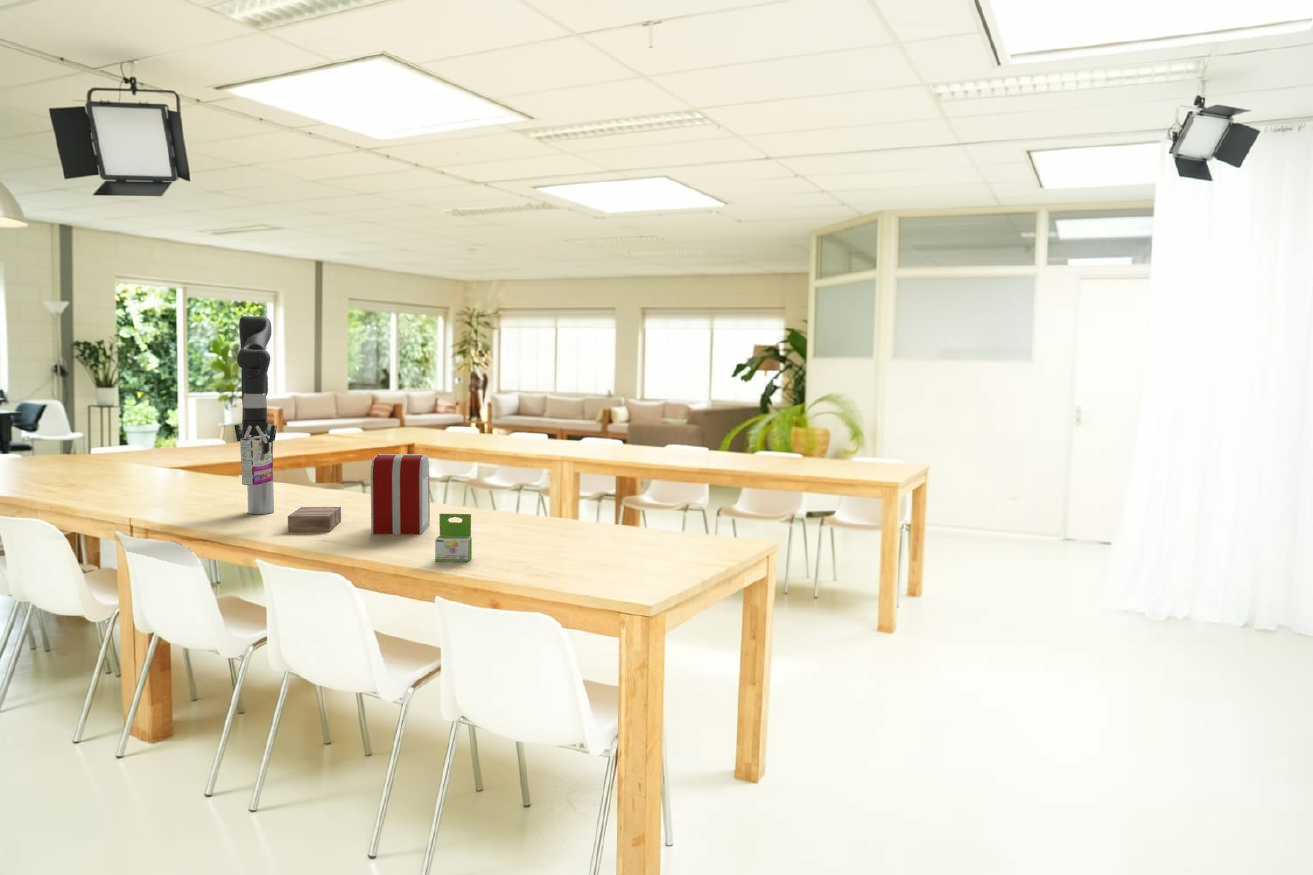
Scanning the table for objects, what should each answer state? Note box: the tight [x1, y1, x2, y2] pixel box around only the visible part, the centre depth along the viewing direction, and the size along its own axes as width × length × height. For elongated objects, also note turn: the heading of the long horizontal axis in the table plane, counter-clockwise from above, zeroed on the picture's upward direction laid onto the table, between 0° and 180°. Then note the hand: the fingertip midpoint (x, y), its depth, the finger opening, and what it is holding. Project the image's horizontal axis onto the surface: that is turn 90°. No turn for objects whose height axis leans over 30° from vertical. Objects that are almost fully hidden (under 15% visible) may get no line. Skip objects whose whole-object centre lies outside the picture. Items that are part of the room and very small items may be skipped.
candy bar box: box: [239, 436, 274, 486], centre depth 308 cm, size 11×5×16 cm, turn 169°
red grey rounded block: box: [370, 453, 431, 535], centre depth 309 cm, size 16×18×27 cm
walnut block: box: [287, 506, 342, 533], centre depth 312 cm, size 18×14×6 cm
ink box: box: [434, 513, 473, 563], centre depth 267 cm, size 10×5×14 cm, turn 90°
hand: (256, 453), depth 308 cm, fingers closed on candy bar box, 6 cm apart
